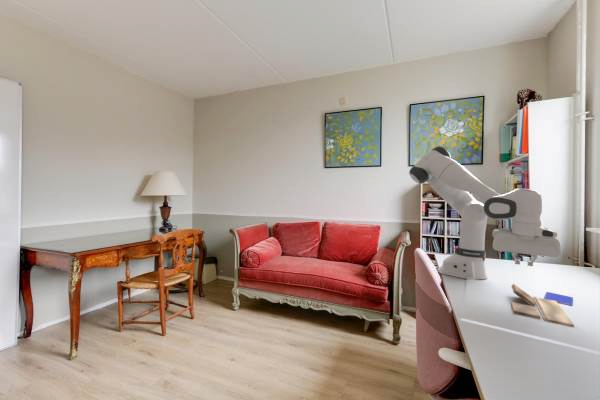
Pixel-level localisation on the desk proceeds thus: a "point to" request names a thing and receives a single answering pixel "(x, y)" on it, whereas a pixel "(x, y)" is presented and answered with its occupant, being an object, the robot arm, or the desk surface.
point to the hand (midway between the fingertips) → (523, 264)
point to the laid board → (552, 311)
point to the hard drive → (559, 298)
